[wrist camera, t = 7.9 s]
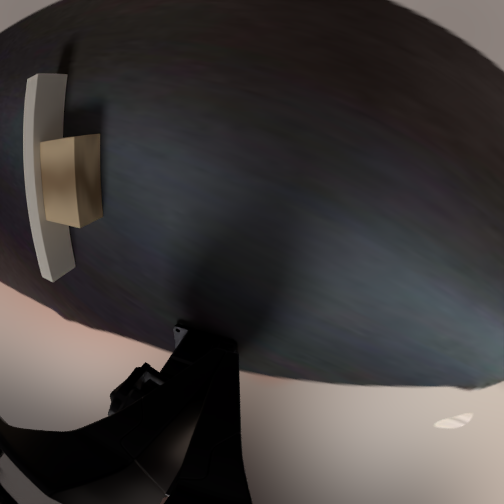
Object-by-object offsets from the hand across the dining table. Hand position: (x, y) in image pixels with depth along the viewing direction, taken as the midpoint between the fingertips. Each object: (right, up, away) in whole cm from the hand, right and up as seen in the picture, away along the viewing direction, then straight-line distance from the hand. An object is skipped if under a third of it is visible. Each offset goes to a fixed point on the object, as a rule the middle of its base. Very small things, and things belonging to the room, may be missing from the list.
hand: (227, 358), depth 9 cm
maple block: (-16, +11, +13) cm, 24 cm away
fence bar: (-20, +12, +14) cm, 27 cm away
